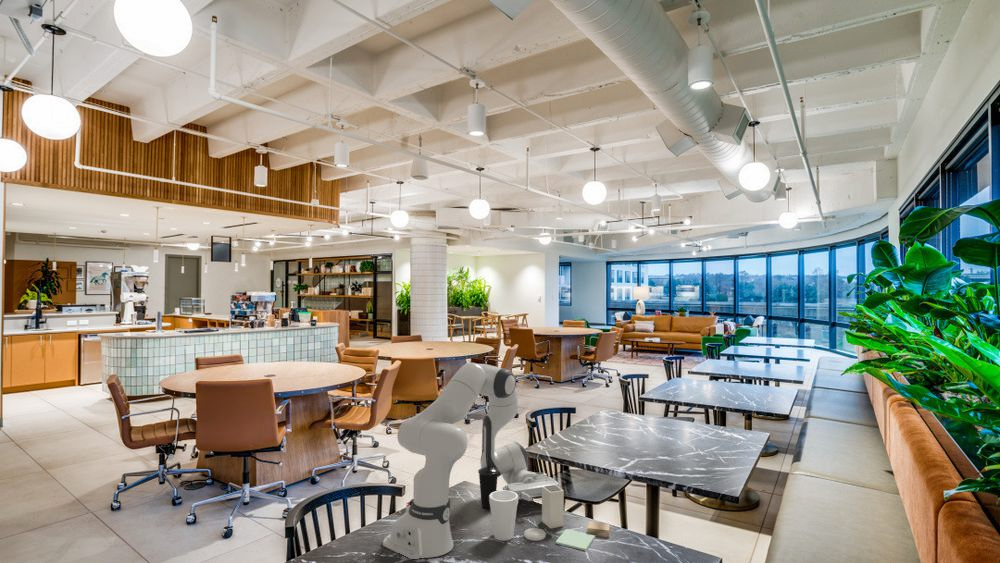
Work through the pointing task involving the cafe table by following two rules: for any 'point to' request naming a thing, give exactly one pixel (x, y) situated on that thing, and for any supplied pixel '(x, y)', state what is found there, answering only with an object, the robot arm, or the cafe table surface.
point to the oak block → (598, 529)
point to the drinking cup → (487, 484)
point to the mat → (575, 539)
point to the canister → (552, 506)
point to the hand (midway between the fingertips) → (542, 496)
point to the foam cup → (503, 513)
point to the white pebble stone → (534, 534)
